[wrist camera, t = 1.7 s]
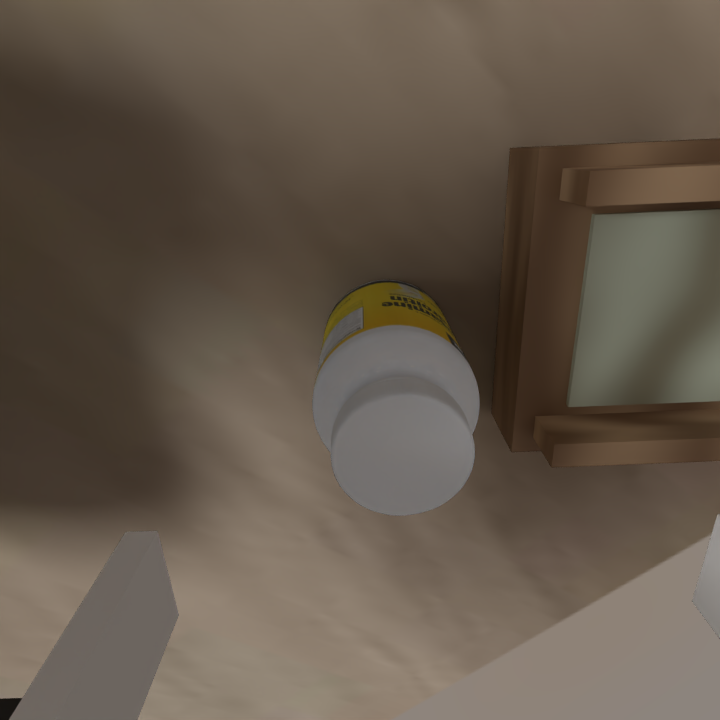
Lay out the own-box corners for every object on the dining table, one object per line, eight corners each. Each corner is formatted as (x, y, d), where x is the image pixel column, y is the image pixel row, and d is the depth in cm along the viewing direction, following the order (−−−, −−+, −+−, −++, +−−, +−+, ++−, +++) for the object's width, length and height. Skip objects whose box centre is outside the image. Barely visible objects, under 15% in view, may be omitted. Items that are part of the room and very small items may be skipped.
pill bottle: (464, 357, 27) (535, 492, 16) (360, 408, 28) (364, 564, 18) (412, 252, 25) (454, 330, 14) (301, 312, 26) (264, 425, 15)
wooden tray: (491, 413, 29) (527, 483, 23) (510, 147, 23) (564, 146, 17) (736, 403, 28) (838, 470, 22) (813, 134, 23) (975, 129, 17)
